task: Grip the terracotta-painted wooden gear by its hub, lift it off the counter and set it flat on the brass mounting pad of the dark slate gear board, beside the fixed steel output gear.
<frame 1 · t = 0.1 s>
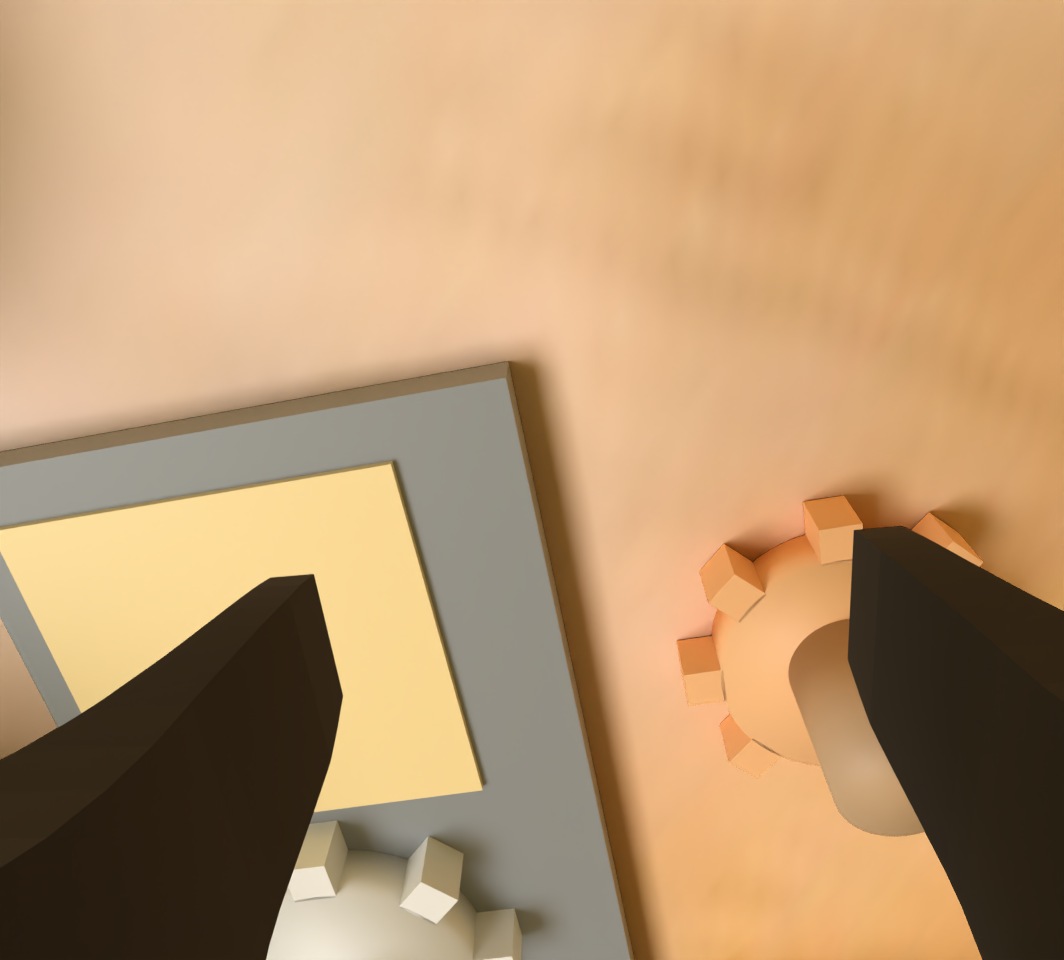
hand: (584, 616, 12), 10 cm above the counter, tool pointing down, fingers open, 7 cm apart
gear board: (348, 759, 26), on the counter
wood gear: (831, 634, 24), on the counter
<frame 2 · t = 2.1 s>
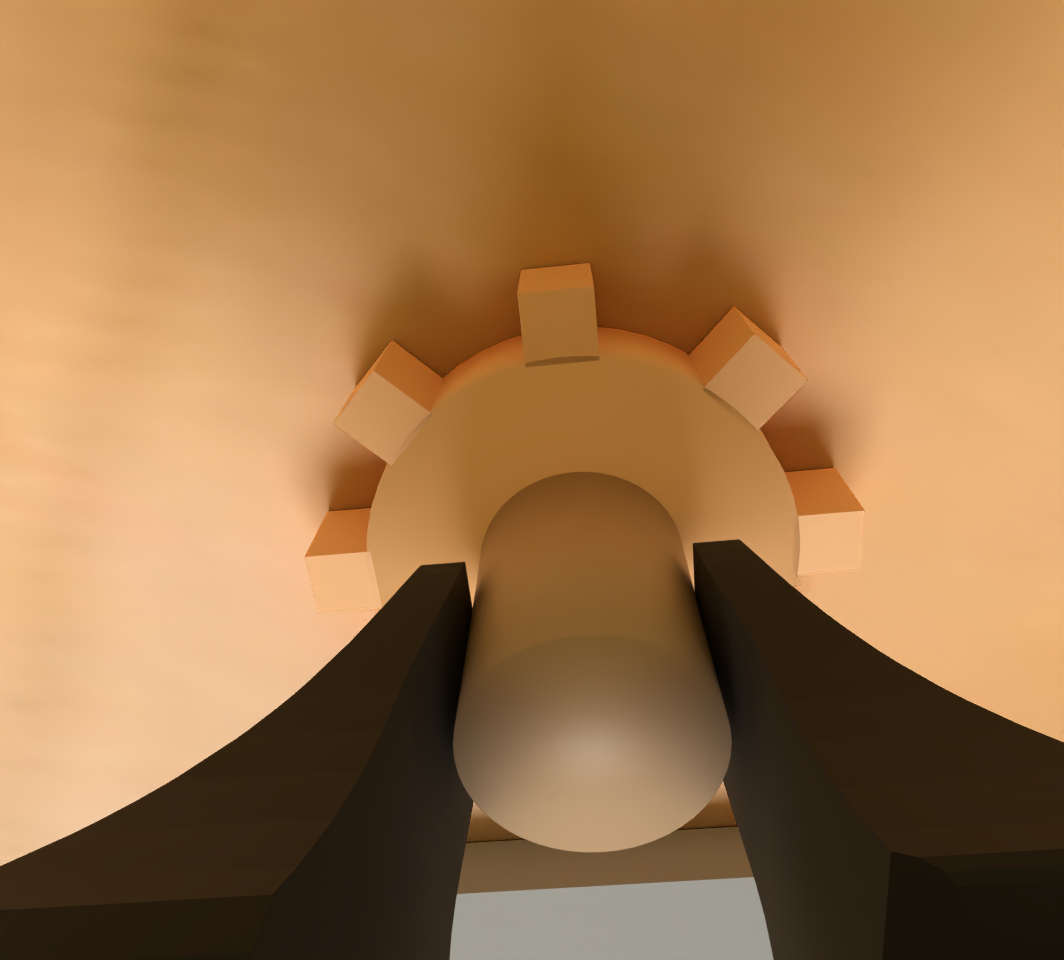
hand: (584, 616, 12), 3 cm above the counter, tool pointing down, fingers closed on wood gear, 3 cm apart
wood gear: (579, 517, 15), on the counter, touching gripper
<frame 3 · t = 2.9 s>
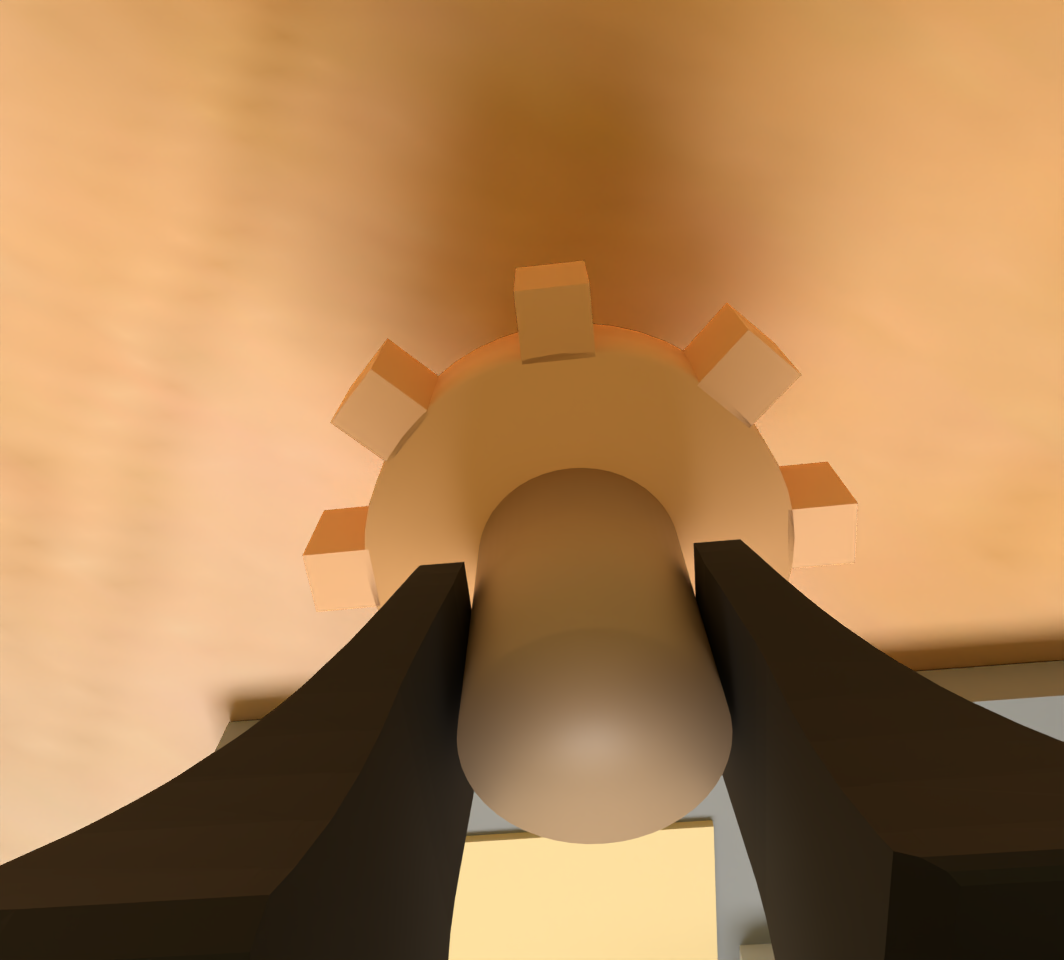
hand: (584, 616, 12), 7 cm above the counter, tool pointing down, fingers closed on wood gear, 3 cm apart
gear board: (689, 897, 24), on the counter
wood gear: (574, 513, 15), point 4 cm above the counter, touching gripper
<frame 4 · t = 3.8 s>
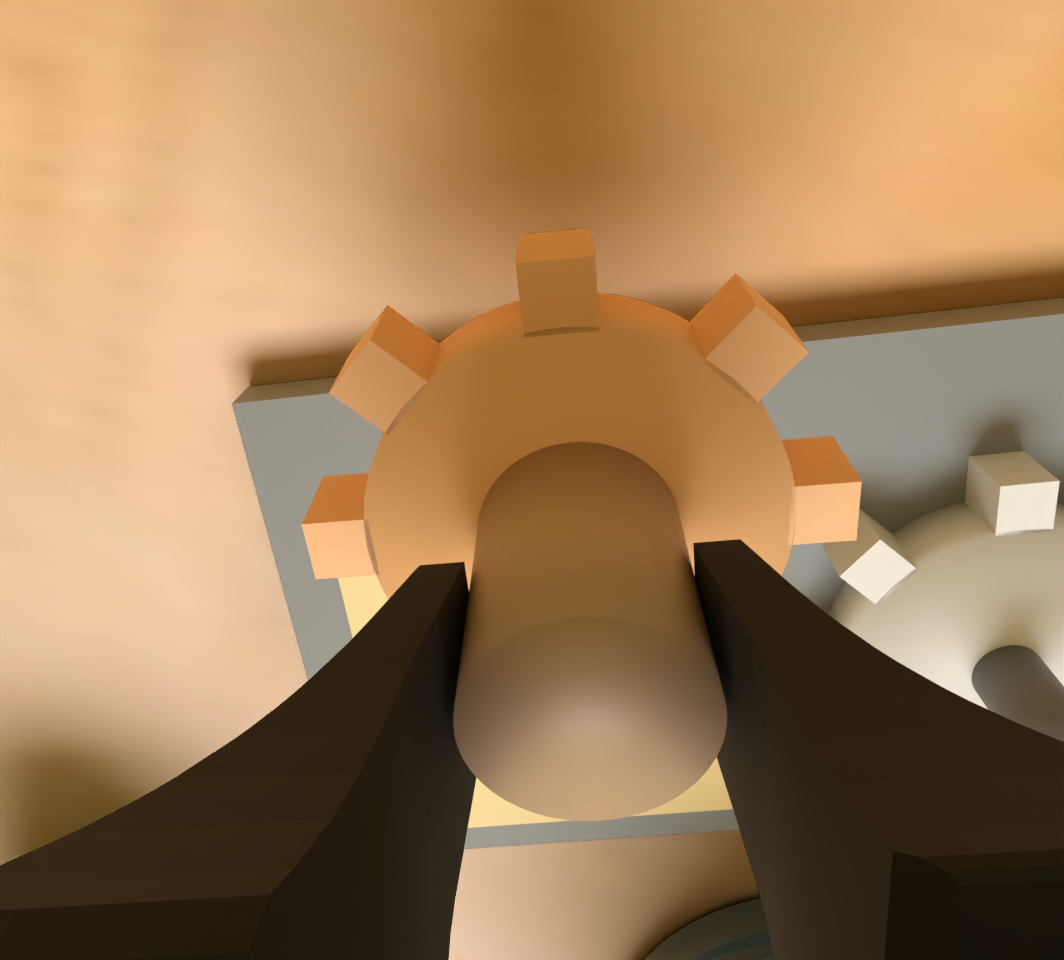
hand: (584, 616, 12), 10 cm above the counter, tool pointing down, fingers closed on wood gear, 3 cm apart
gear board: (724, 595, 23), on the counter
wood gear: (576, 483, 15), point 7 cm above the counter, touching gripper
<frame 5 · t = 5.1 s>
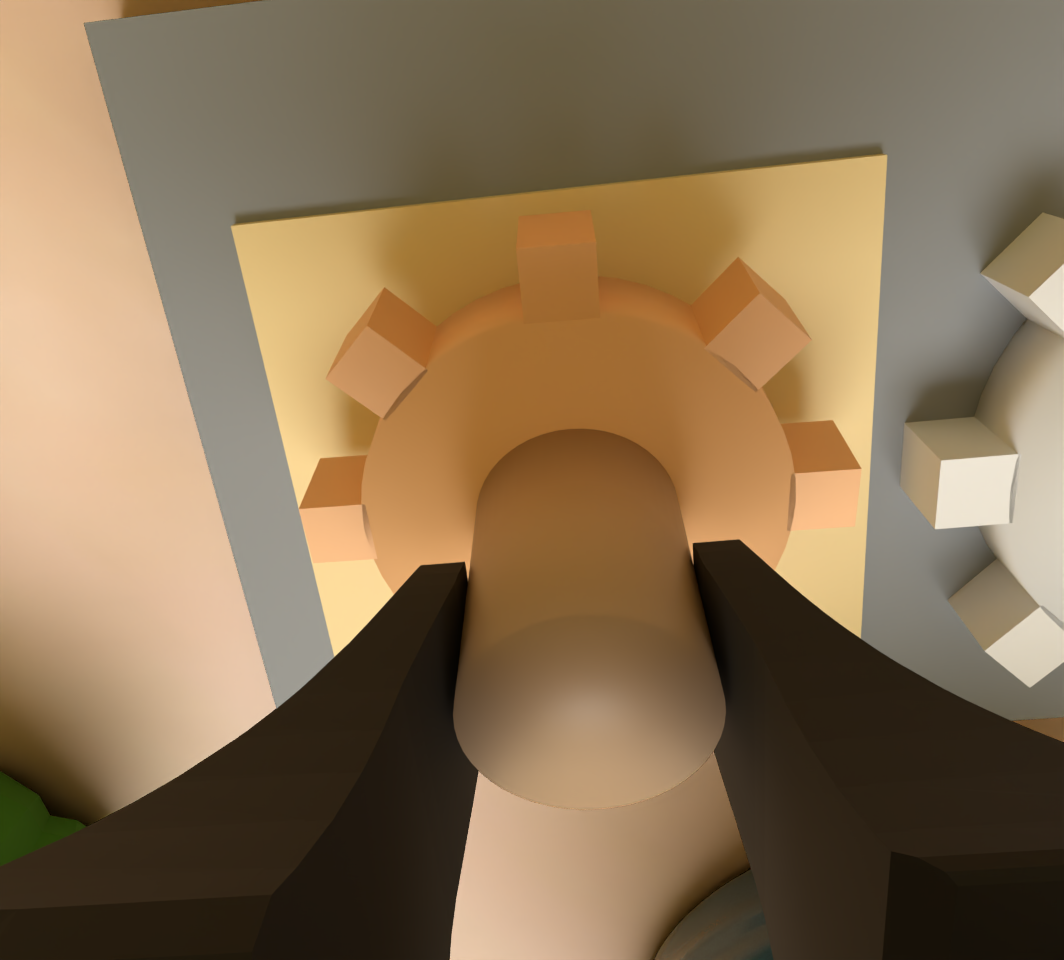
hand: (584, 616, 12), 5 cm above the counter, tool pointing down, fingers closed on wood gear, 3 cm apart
bell pepper: (15, 842, 22), on the counter
gear board: (820, 383, 16), on the counter
wood gear: (574, 466, 15), point 2 cm above the counter, tilted 7°, touching gripper
when the fingers open (5 cm above the counter, at t = 5.9 s): wood gear stays where it is, resting on gear board.
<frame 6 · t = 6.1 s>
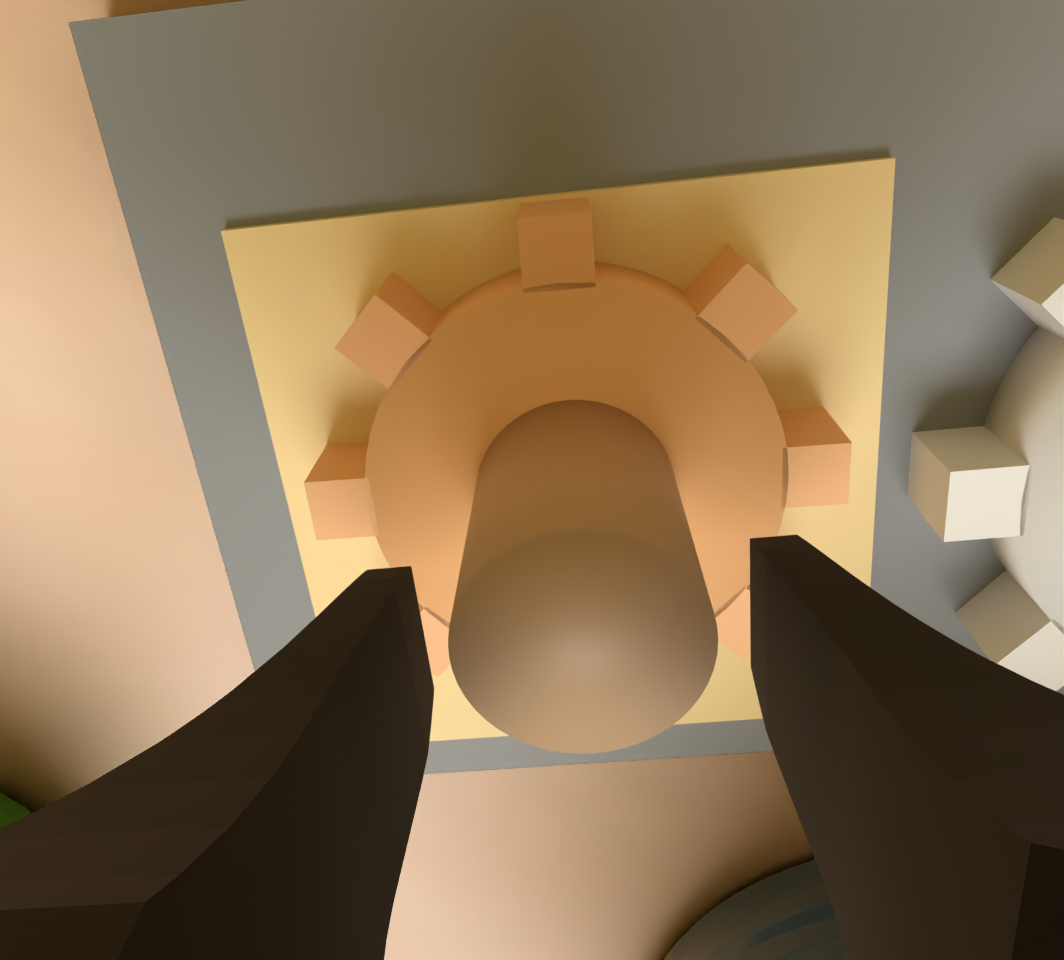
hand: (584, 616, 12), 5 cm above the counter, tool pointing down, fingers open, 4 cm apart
bell pepper: (4, 856, 22), on the counter
gear board: (825, 391, 16), on the counter
wood gear: (573, 454, 15), point 1 cm above the counter, touching gear board
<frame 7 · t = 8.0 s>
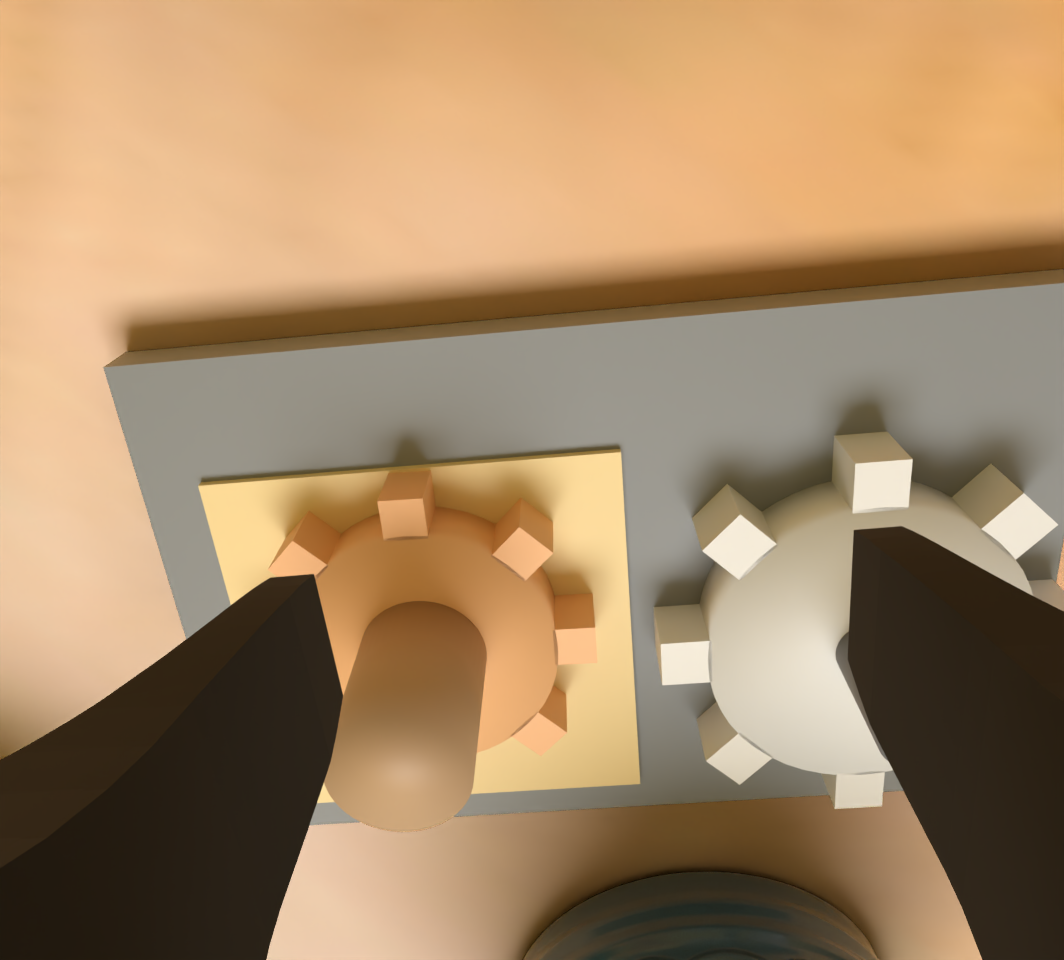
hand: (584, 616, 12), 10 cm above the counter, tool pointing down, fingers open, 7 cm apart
gear board: (606, 572, 24), on the counter
wood gear: (431, 619, 23), point 1 cm above the counter, touching gear board
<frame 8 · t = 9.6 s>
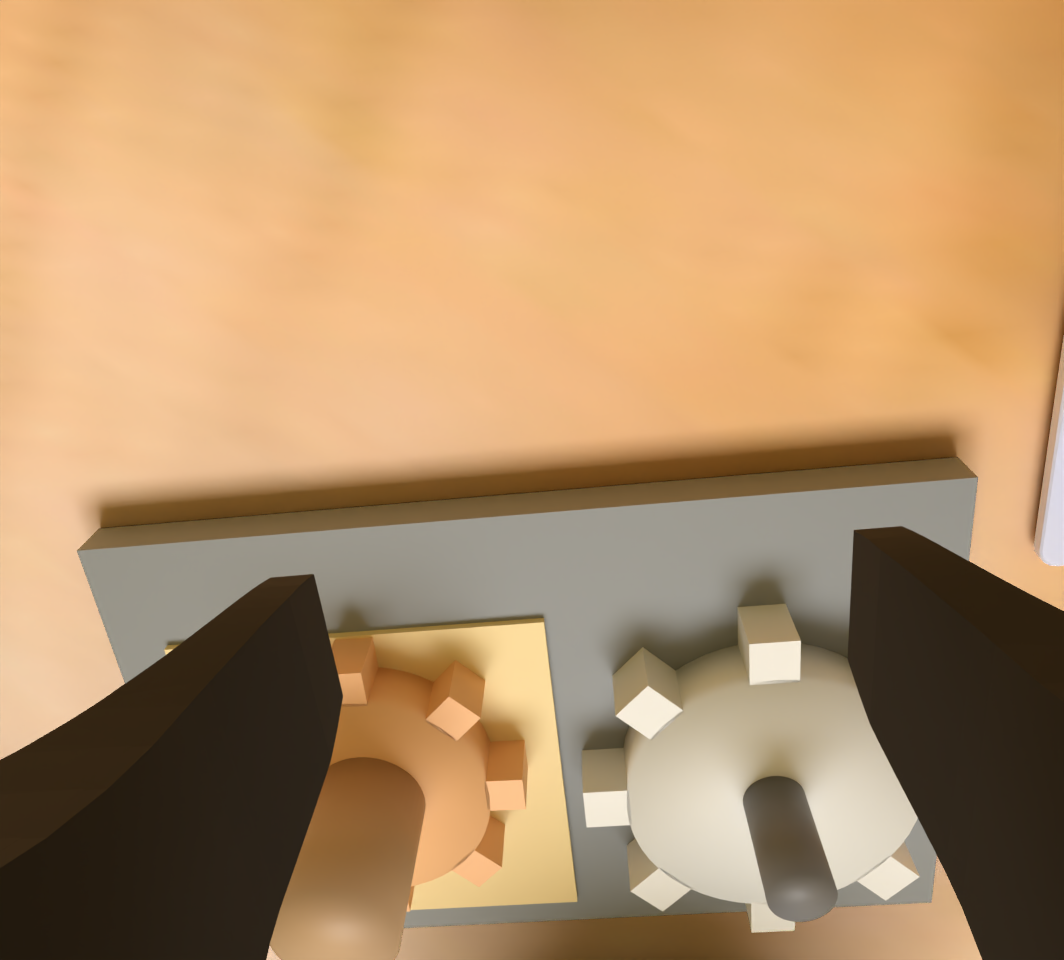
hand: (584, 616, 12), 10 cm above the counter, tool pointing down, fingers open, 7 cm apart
gear board: (541, 713, 26), on the counter
wood gear: (379, 761, 25), point 1 cm above the counter, touching gear board
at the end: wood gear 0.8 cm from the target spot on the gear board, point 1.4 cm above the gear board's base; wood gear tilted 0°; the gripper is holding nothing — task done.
